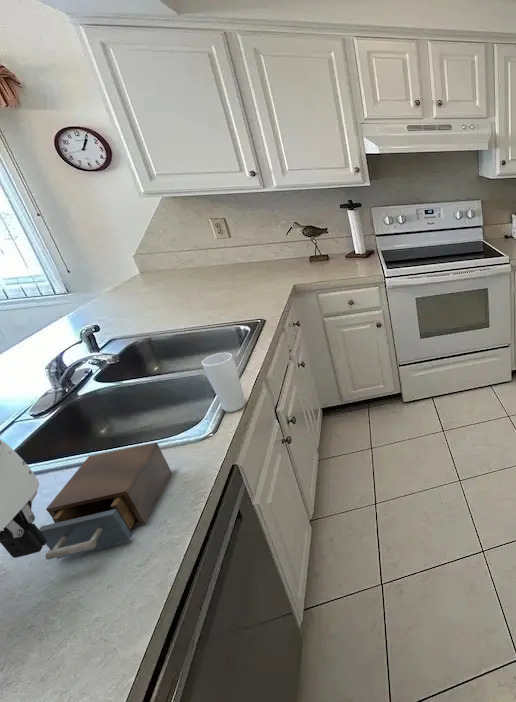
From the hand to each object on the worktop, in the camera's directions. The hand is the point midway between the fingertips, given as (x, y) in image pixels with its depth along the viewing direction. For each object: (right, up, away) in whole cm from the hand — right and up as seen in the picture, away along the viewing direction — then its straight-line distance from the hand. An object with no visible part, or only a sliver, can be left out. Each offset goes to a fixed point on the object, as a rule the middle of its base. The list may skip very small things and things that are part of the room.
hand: (31, 549), depth 60 cm
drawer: (-4, -5, +16) cm, 17 cm away
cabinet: (-6, -3, +22) cm, 23 cm away
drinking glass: (-3, +11, +51) cm, 52 cm away
